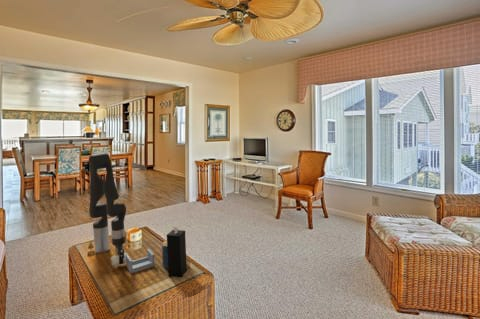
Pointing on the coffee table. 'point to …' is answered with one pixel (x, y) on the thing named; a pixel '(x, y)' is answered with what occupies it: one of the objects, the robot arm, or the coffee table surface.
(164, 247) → the canister
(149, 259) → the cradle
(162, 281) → the coffee table surface
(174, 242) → the long black block
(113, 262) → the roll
